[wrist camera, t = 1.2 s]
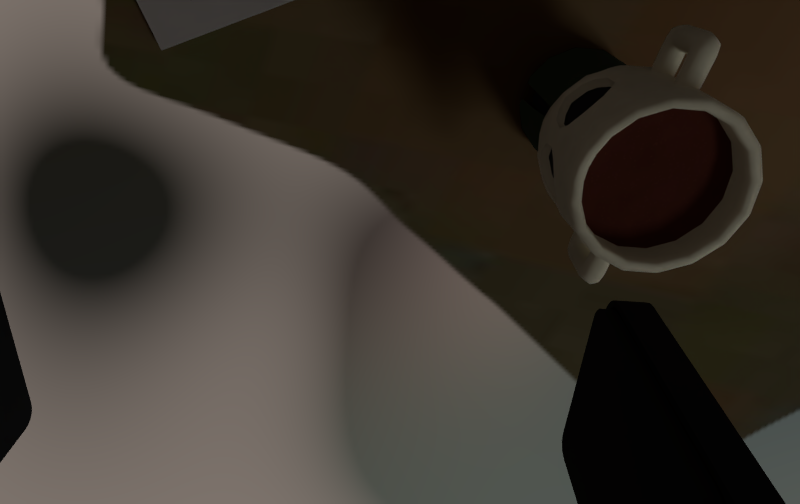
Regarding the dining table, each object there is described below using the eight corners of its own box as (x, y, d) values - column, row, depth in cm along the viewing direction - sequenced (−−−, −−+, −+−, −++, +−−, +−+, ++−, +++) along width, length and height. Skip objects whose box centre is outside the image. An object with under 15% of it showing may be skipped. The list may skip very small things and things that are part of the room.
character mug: (553, -19, 31) (646, 9, 19) (678, 23, 32) (838, 73, 20) (480, 175, 36) (520, 290, 24) (591, 206, 37) (680, 330, 25)
